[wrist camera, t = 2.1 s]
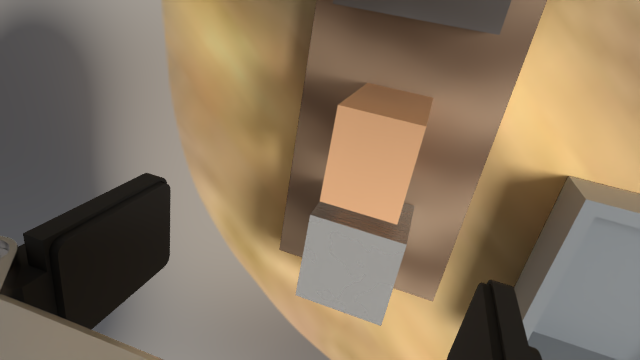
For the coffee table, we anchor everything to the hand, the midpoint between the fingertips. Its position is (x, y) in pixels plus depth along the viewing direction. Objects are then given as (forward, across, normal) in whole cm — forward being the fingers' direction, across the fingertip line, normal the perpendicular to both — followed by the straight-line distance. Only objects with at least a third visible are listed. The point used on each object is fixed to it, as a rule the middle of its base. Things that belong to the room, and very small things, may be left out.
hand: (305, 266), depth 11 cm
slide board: (+17, 0, 0) cm, 17 cm away
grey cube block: (+15, 0, +7) cm, 16 cm away
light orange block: (+15, 0, 0) cm, 15 cm away
